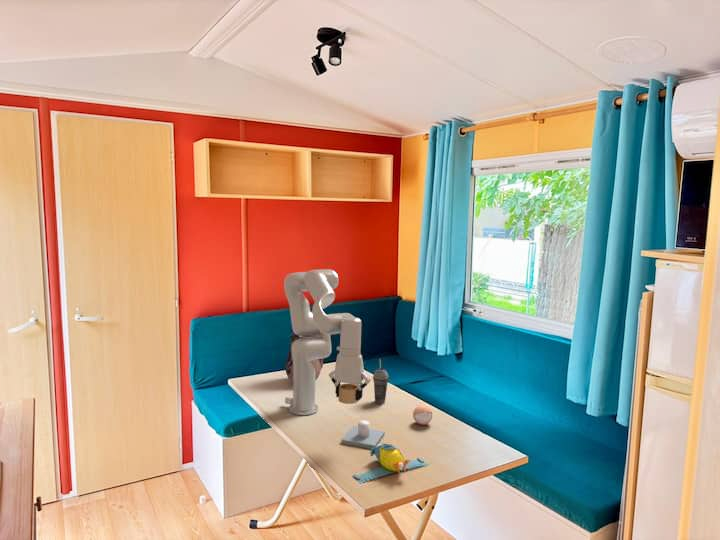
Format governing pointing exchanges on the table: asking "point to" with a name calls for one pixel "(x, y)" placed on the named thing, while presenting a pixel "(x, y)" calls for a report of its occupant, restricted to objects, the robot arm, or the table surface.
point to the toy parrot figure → (388, 462)
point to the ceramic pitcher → (316, 362)
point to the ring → (348, 393)
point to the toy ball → (422, 414)
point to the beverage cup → (380, 385)
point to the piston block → (363, 436)
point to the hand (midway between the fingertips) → (348, 397)
